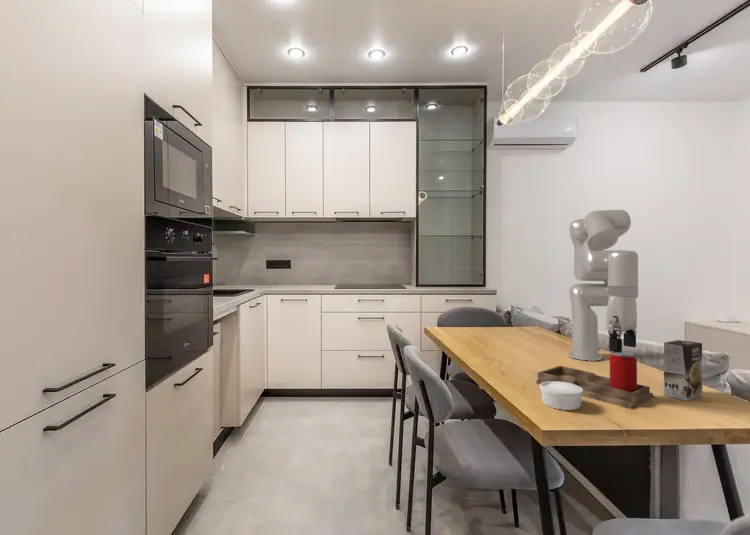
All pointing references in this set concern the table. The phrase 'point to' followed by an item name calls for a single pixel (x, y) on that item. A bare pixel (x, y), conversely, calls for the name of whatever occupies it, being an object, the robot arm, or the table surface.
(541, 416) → the table surface
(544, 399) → the ramekin
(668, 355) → the coffee box
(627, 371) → the beverage can
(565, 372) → the brown wooden tray
